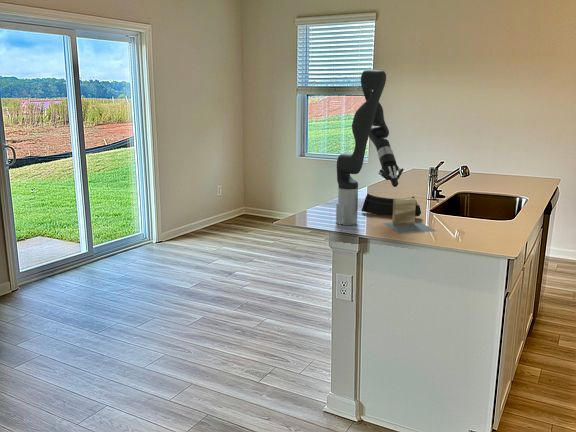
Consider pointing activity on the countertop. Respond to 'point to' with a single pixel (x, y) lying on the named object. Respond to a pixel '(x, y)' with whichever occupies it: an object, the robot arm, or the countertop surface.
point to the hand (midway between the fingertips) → (395, 185)
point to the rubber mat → (409, 228)
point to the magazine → (382, 206)
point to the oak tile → (404, 211)
